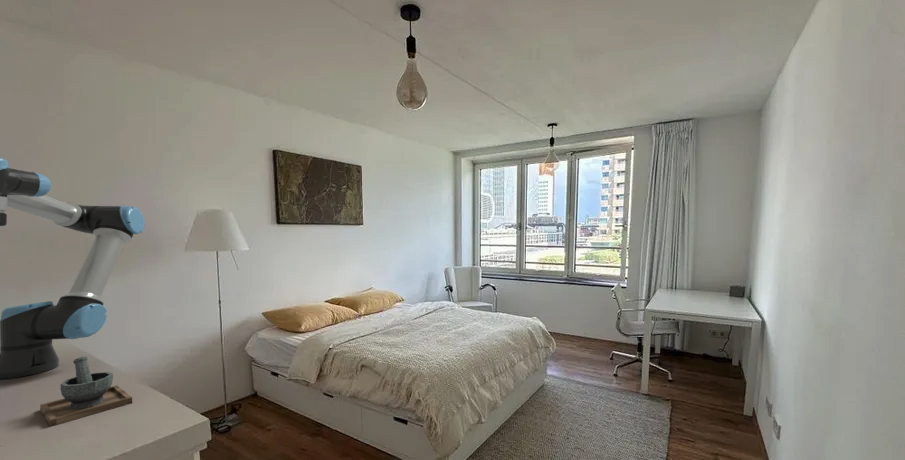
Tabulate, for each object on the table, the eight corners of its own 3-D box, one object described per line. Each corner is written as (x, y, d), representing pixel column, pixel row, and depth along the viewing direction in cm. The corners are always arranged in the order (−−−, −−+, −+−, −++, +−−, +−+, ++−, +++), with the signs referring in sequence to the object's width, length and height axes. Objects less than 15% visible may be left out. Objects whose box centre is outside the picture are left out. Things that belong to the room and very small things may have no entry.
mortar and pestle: (118, 401, 98) (118, 356, 98) (69, 416, 89) (70, 367, 90) (100, 393, 103) (101, 351, 103) (53, 407, 95) (54, 361, 95)
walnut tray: (40, 410, 94) (40, 404, 94) (116, 390, 106) (116, 385, 106) (50, 426, 86) (50, 420, 86) (132, 402, 98) (132, 397, 98)
